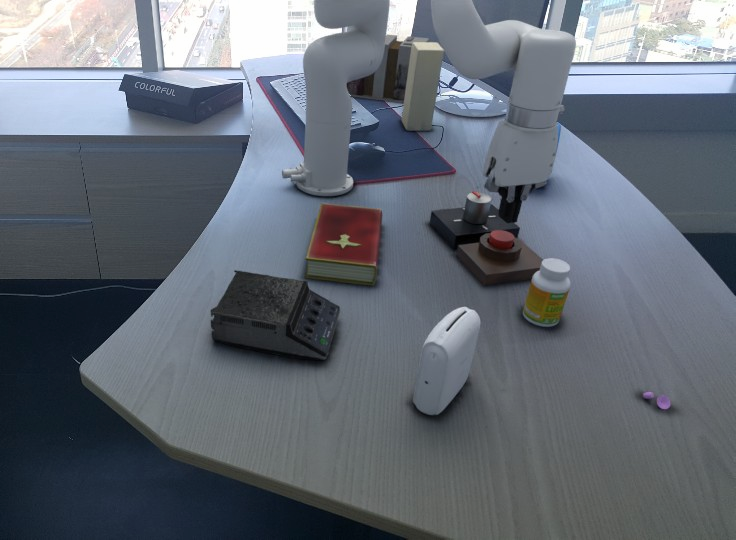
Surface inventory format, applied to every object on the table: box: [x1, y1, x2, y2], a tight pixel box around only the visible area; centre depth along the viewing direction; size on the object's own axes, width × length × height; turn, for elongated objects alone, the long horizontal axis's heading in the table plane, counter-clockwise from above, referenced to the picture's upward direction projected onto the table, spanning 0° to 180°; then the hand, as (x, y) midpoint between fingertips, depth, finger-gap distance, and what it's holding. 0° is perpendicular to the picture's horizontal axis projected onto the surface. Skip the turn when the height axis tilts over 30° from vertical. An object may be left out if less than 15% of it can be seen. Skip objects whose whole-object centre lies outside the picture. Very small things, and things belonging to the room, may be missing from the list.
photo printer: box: [412, 306, 482, 416], centre depth 82 cm, size 10×4×12 cm, turn 140°
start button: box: [489, 230, 514, 249], centre depth 111 cm, size 4×4×2 cm
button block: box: [455, 233, 544, 286], centre depth 111 cm, size 12×10×4 cm
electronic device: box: [210, 269, 341, 361], centre depth 95 cm, size 12×17×6 cm
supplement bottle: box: [522, 257, 572, 328], centre depth 97 cm, size 5×5×10 cm
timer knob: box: [463, 190, 493, 224], centre depth 120 cm, size 4×4×5 cm
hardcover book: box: [304, 202, 383, 287], centre depth 116 cm, size 12×21×4 cm, turn 168°
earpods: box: [642, 391, 672, 410], centre depth 84 cm, size 3×2×2 cm
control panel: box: [428, 203, 521, 250], centre depth 122 cm, size 13×10×3 cm
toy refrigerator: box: [401, 41, 445, 132], centre depth 166 cm, size 8×7×21 cm
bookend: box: [347, 34, 430, 104], centre depth 193 cm, size 16×25×16 cm, turn 68°
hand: (507, 219), depth 109 cm, fingers closed
